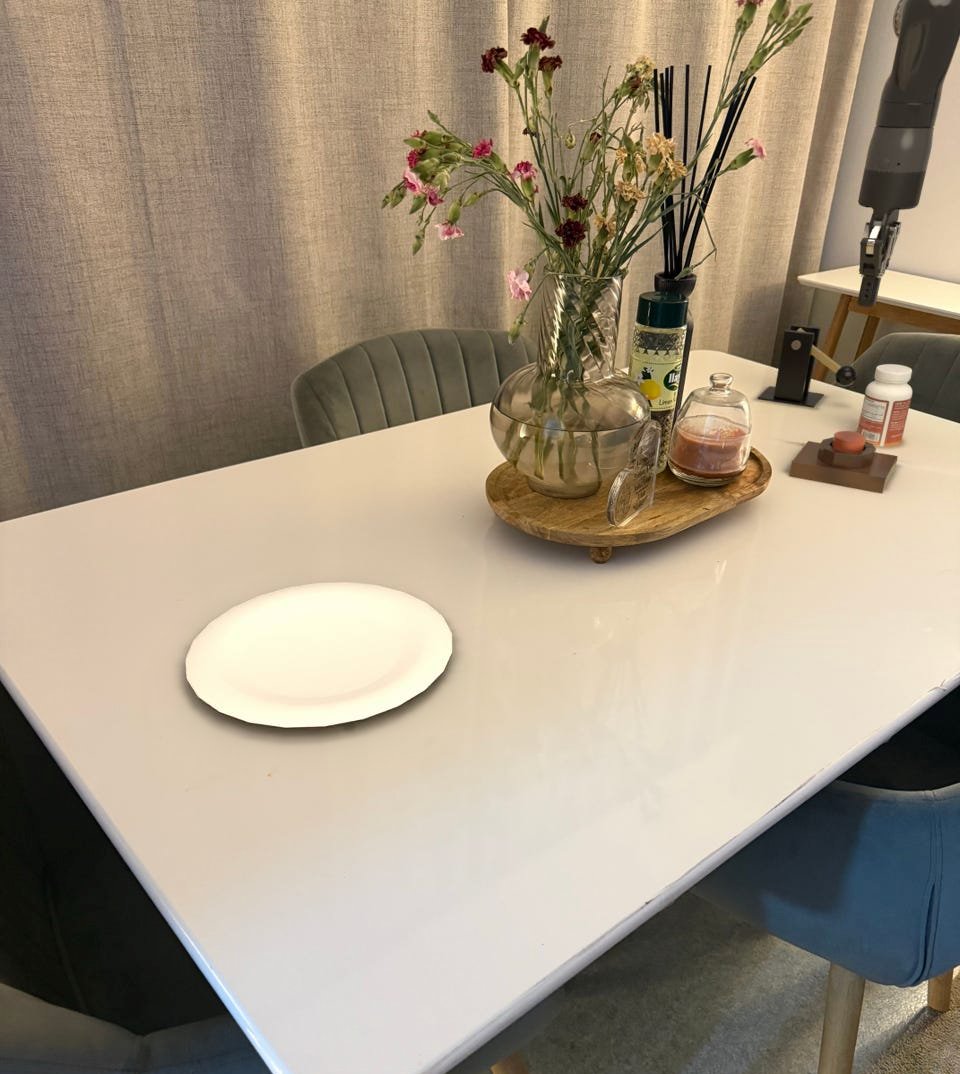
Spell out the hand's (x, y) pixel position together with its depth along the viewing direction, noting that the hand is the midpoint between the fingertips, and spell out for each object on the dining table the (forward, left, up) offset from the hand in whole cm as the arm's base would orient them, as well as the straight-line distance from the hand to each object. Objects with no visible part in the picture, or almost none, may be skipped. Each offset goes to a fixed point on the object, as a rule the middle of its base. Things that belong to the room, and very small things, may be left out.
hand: (866, 305), depth 128 cm
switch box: (-4, +16, -19) cm, 25 cm away
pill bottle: (-6, +2, -19) cm, 20 cm away
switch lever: (+7, -11, -12) cm, 18 cm away
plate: (+29, +87, -19) cm, 94 cm away
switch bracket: (+10, -11, -19) cm, 24 cm away
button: (-4, +16, -15) cm, 22 cm away
